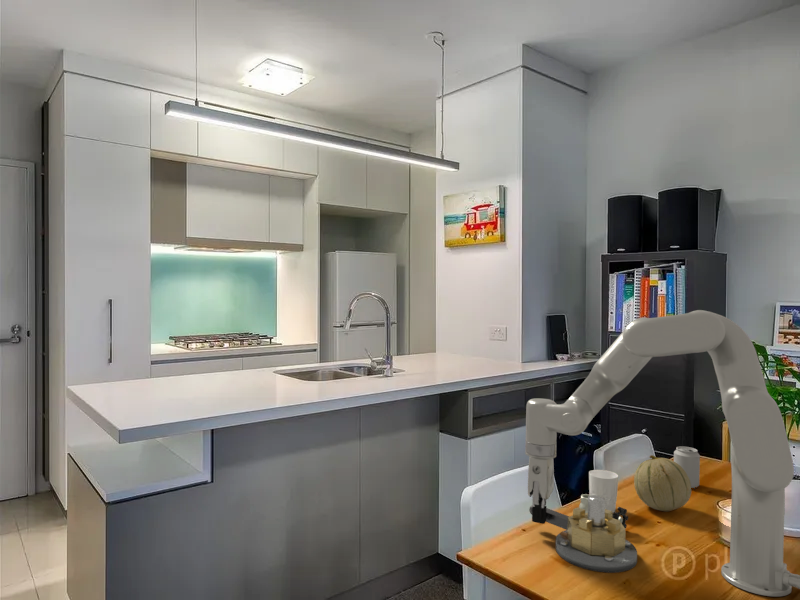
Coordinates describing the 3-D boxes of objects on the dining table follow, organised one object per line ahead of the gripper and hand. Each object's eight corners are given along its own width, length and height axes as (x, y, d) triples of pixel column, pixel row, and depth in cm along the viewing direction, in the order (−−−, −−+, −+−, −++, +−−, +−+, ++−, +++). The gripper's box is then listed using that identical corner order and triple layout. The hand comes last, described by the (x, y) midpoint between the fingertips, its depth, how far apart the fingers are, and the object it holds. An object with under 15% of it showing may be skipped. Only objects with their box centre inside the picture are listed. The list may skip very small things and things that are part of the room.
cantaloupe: (694, 523, 148) (696, 467, 148) (635, 515, 152) (636, 461, 152) (685, 503, 162) (686, 452, 162) (631, 496, 166) (632, 447, 166)
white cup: (582, 505, 159) (582, 471, 158) (603, 502, 162) (603, 468, 162) (602, 516, 151) (603, 480, 151) (623, 512, 154) (624, 476, 154)
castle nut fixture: (632, 545, 128) (633, 517, 128) (605, 560, 121) (606, 530, 121) (544, 512, 148) (544, 487, 147) (515, 523, 140) (516, 497, 140)
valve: (573, 521, 148) (614, 537, 138) (573, 496, 148) (615, 511, 138) (587, 515, 152) (628, 530, 143) (587, 491, 152) (628, 505, 143)
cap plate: (648, 553, 130) (649, 498, 130) (618, 581, 117) (619, 520, 116) (576, 530, 142) (577, 479, 142) (541, 553, 129) (542, 497, 129)
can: (704, 489, 174) (704, 452, 174) (680, 489, 174) (681, 451, 174) (691, 481, 181) (692, 445, 181) (668, 481, 181) (669, 445, 181)
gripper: (550, 458, 129) (548, 536, 129) (561, 443, 143) (559, 514, 143) (518, 454, 132) (517, 530, 133) (531, 439, 146) (530, 508, 146)
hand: (539, 521), depth 138 cm, fingers closed
